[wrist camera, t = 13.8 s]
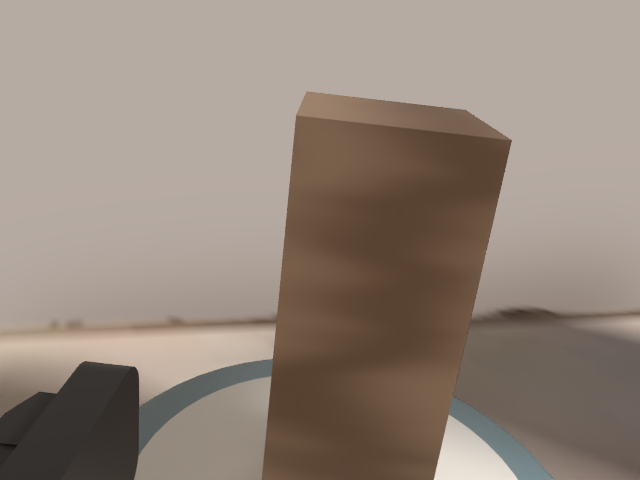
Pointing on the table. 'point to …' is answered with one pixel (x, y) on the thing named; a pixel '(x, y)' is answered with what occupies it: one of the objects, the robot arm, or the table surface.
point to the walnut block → (377, 285)
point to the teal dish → (251, 423)
